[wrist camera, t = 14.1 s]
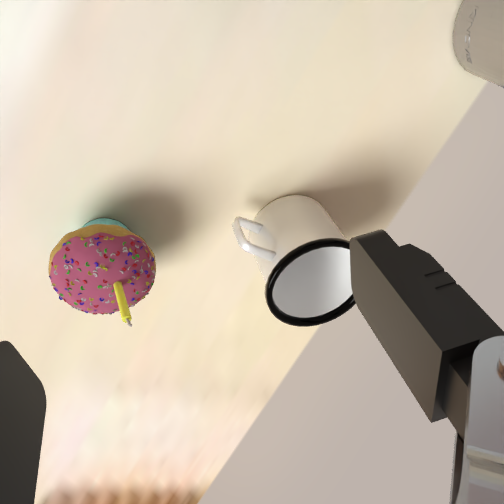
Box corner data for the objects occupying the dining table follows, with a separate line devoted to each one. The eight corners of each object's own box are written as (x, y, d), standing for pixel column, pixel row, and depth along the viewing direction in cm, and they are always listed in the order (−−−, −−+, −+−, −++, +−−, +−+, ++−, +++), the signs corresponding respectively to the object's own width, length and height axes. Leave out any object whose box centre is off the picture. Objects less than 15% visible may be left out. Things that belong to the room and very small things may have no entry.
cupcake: (128, 186, 39) (133, 272, 29) (167, 258, 44) (181, 350, 35) (34, 222, 38) (9, 320, 29) (84, 290, 44) (76, 391, 34)
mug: (349, 208, 46) (392, 261, 39) (298, 277, 50) (329, 336, 43) (251, 162, 40) (281, 215, 33) (202, 244, 44) (220, 306, 37)
